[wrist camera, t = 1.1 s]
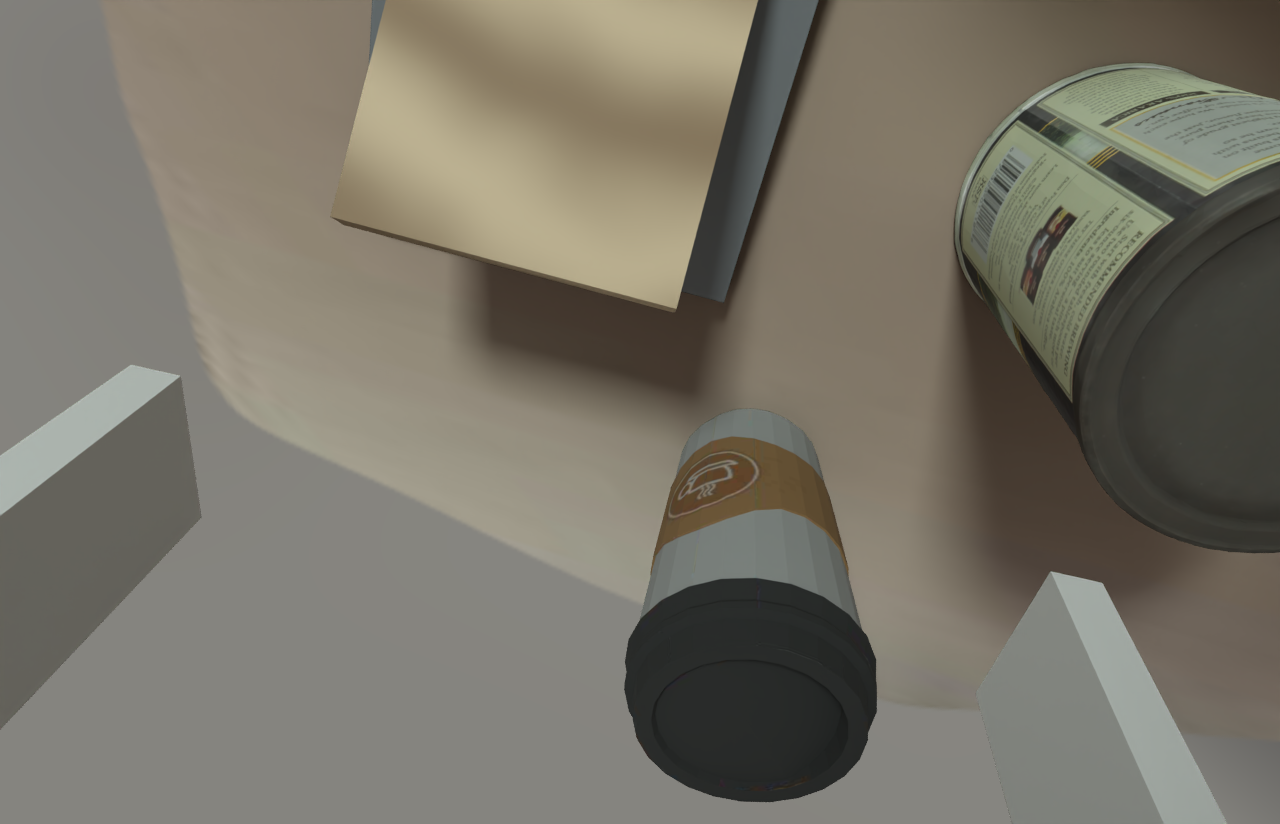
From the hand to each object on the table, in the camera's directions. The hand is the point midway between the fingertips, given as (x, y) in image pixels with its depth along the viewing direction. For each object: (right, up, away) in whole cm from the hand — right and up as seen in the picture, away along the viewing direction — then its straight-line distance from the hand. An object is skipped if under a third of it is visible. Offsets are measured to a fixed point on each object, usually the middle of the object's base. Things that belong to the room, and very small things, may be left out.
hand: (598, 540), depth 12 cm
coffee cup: (+6, 0, +26) cm, 26 cm away
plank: (-2, +12, +14) cm, 18 cm away
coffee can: (+18, +10, +18) cm, 27 cm away
